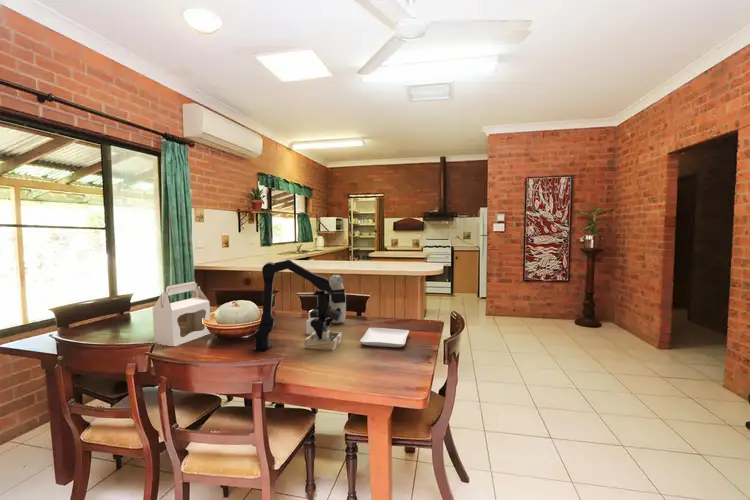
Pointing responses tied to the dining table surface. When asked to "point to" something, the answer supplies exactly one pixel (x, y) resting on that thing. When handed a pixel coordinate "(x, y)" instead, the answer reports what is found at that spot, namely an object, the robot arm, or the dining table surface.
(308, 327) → the medicine bottle
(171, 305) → the gable box
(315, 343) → the socket box
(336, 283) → the tall grey vase
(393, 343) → the salad plate
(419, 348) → the dining table surface
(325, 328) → the grey rectangular prism
